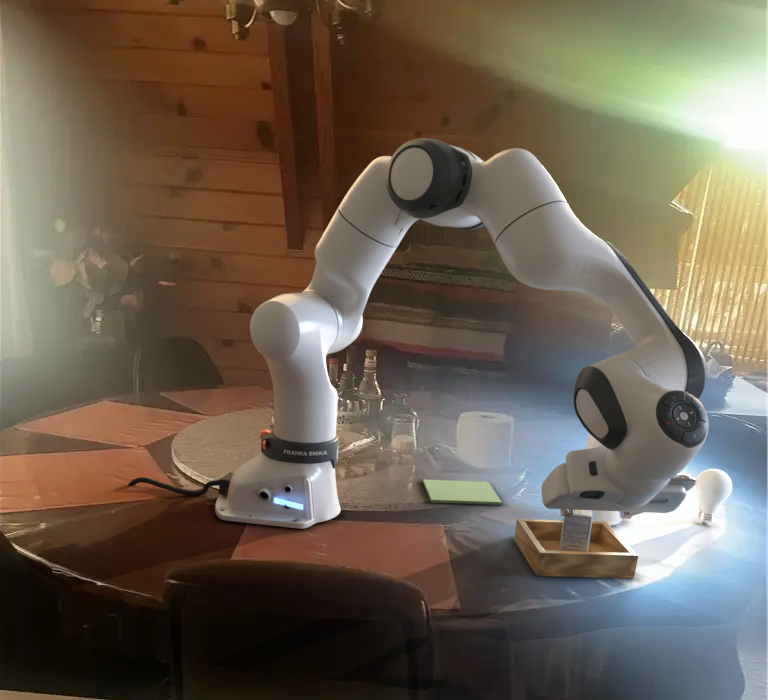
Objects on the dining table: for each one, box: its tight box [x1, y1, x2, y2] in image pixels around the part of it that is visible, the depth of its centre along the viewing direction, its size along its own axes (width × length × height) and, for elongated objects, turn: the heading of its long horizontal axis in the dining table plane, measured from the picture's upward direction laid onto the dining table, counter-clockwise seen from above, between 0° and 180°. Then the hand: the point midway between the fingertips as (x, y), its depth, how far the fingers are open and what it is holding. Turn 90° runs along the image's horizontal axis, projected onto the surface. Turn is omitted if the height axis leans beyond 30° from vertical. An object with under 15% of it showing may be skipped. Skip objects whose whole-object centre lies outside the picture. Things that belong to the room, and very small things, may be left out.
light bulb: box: [694, 468, 733, 525], centre depth 145 cm, size 7×7×11 cm
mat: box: [422, 479, 503, 506], centre depth 153 cm, size 14×12×1 cm
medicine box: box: [560, 510, 593, 552], centre depth 125 cm, size 8×4×9 cm, turn 165°
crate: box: [513, 518, 639, 579], centre depth 126 cm, size 16×14×4 cm
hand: (594, 513), depth 117 cm, fingers open, 8 cm apart
